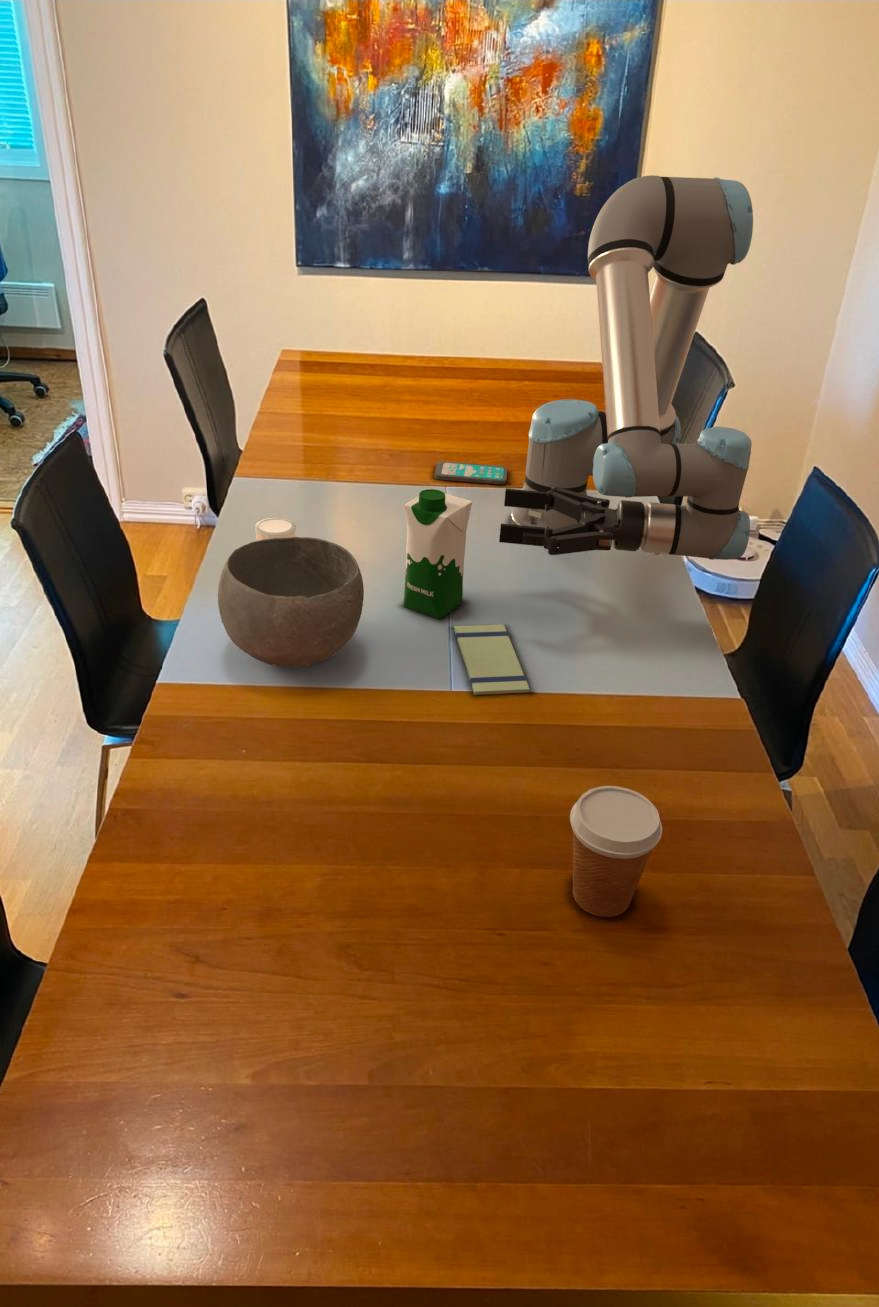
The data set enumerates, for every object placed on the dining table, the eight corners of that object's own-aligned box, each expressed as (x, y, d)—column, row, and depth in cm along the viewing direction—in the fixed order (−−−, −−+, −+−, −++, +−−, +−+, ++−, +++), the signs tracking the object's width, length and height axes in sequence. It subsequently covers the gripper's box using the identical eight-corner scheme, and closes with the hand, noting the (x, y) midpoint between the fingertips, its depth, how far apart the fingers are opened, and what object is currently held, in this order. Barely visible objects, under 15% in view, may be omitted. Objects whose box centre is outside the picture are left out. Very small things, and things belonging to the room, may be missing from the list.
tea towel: (503, 627, 155) (504, 624, 155) (529, 692, 140) (530, 688, 140) (453, 629, 154) (453, 625, 154) (474, 695, 139) (474, 691, 139)
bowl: (248, 704, 134) (242, 609, 126) (205, 632, 149) (197, 543, 141) (385, 672, 143) (387, 581, 135) (331, 607, 158) (331, 521, 150)
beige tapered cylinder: (289, 574, 166) (288, 536, 163) (250, 568, 167) (248, 531, 164) (302, 556, 172) (301, 520, 168) (264, 551, 173) (263, 514, 169)
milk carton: (395, 607, 159) (399, 491, 148) (426, 585, 166) (431, 474, 155) (441, 624, 155) (448, 507, 144) (470, 601, 162) (479, 488, 151)
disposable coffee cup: (550, 865, 111) (563, 783, 105) (633, 863, 112) (650, 782, 106) (567, 930, 103) (581, 846, 97) (655, 927, 104) (675, 844, 98)
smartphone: (437, 459, 211) (507, 465, 210) (437, 464, 212) (507, 469, 211) (434, 475, 204) (506, 480, 203) (433, 479, 204) (505, 485, 204)
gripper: (643, 587, 141) (495, 572, 142) (633, 517, 162) (504, 505, 163) (652, 539, 137) (500, 525, 138) (640, 473, 158) (508, 462, 159)
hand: (502, 514), depth 151 cm, fingers open, 13 cm apart
